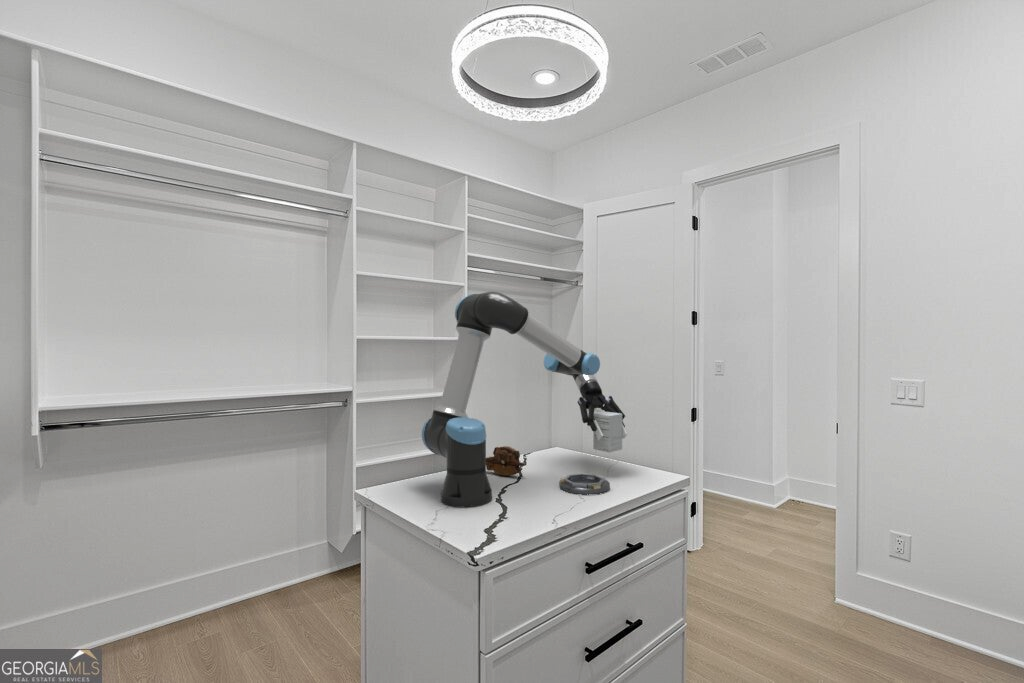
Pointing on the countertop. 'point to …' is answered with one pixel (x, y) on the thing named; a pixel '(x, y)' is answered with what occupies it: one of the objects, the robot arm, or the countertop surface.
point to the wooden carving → (504, 461)
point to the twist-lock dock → (584, 484)
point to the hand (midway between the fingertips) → (613, 437)
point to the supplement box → (608, 432)
